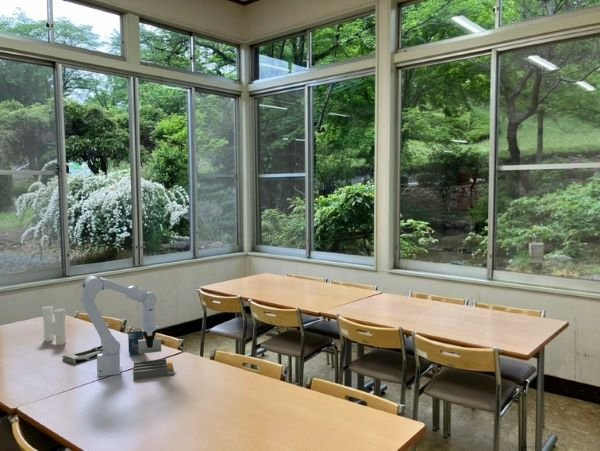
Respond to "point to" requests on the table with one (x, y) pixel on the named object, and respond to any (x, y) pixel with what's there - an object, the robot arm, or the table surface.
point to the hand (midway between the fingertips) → (149, 346)
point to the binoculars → (54, 324)
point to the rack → (152, 369)
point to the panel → (144, 349)
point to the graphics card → (83, 355)
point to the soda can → (134, 341)
